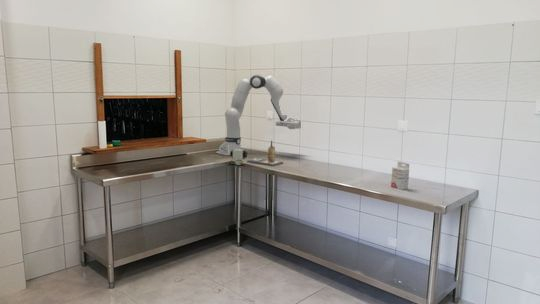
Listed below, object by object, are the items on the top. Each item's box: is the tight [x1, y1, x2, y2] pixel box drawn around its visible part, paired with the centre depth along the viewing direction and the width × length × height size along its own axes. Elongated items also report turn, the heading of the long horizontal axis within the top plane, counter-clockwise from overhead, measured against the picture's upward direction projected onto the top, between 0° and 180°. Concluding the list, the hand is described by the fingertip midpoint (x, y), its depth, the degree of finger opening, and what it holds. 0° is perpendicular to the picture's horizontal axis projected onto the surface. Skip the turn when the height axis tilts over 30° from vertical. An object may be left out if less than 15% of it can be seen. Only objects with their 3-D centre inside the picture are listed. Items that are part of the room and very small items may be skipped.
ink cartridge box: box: [390, 161, 410, 191], centre depth 236 cm, size 9×5×15 cm, turn 35°
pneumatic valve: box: [229, 148, 248, 166], centre depth 297 cm, size 6×12×12 cm, turn 74°
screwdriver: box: [267, 140, 276, 163], centre depth 301 cm, size 5×5×16 cm
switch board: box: [246, 157, 284, 167], centre depth 306 cm, size 24×13×2 cm, turn 53°
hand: (281, 124), depth 318 cm, fingers open, 8 cm apart
